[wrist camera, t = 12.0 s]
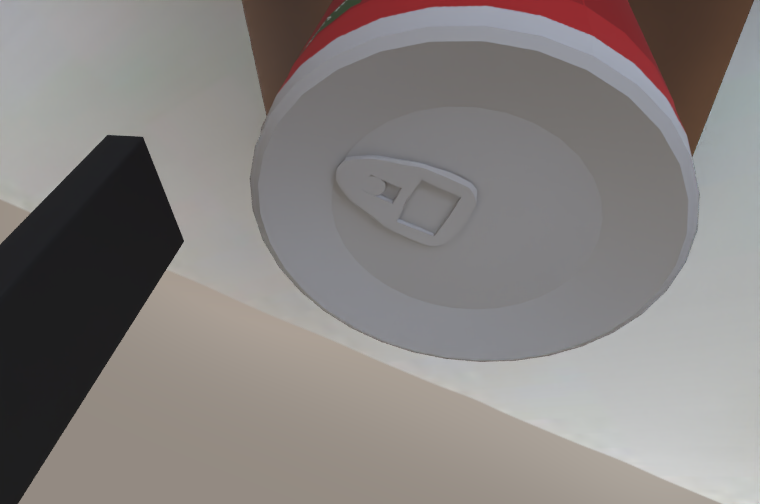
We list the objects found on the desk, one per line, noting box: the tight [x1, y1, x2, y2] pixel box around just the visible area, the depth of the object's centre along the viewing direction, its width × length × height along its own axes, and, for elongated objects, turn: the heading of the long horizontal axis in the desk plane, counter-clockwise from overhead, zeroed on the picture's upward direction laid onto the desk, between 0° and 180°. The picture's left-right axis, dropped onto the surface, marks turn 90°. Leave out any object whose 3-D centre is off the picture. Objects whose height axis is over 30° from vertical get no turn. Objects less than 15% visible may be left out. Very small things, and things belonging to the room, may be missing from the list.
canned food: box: [250, 0, 700, 362], centre depth 14 cm, size 8×8×11 cm
